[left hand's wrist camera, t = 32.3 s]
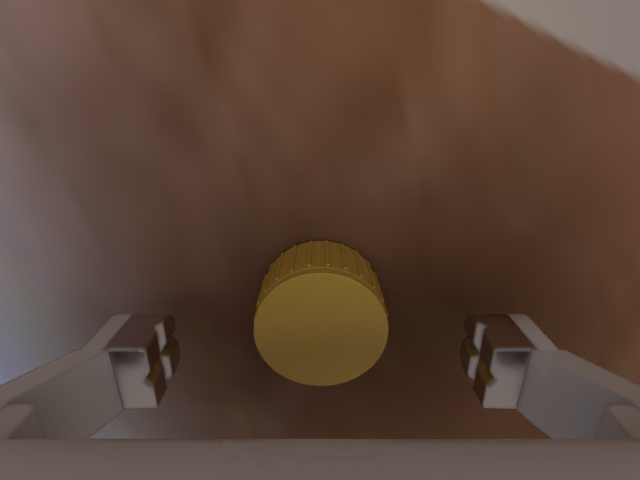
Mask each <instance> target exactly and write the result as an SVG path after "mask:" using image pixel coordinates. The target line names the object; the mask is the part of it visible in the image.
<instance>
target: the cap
mask: <svg viewBox="0 0 640 480" xmlns="http://www.w3.org/2000/svg"><path fill="white" fill-rule="evenodd" d="M256 305H257V308H256V311H255V315H254V326H253V332H254V339H255V343H256V346H257V349H258V351H259V353H260V354H261V356H262V358H263V359H264V360H265V362H266V363H267V364H268V365H269V366H270V367H271V368H272V369H273V370H275V371H276V372H277V373H279V374H280V375H282V376H284V377H285V378H288V379H290V380H292V381H295V382H298V383H301V384H306V385H313V386H329V385H336V384H341V383H344V382H347V381H350V380H352V379H354V378H356V377H358V376H360V375H362V374H363V373H365V372H366V371H367V370H369V369H370V368H371V367H372V366H373V365H374V364H375V363H376V361H377V360H378V359H379V357H380V356H381V354H382V353H383V350H384V348H385V346H386V343H387V339H388V332H389V329H388V319H387V316H388V313H387V309H386V306H385V303H384V298H383V295H382V292H381V288H380V285H379V282H378V278H377V275H376V272H375V271H374V272H373V270H372V268H371V266H370V265H369V261H368V260H365V259H364V258H363V257H362V256H361V255H360V254H359V253H358V251H357V250H353V249H351V248H350V247H348V246H345V245H344V244H343V243H341V244H339V243H336V242H330V241H328V240H325V241H312V240H310V241H309V242H306V243H302V244H299V245H294V247H292V248H291V249H289V250H287V251H286V252H284V253H283V252H282V253H281V255H280V257H278V258H277V260H276V261H275V262H274V263H271V265H270V269H269V271H268V274H267V275H265V276H264V280H263V283H262V286H261V290H260V293H259V297H258V300H257V304H256Z"/></svg>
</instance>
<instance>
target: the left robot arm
mask: <svg viewBox="0 0 640 480" xmlns="http://www.w3.org/2000/svg"><path fill="white" fill-rule="evenodd" d="M175 329H176V326H175V321H174V318H173V317H172V316H171V315H162V314H116V315H113V316H112V317H111V318H110V319H109V320H108V321H107V322H106V323H105V324H104V325H103V327H102V328H101V329H100V330H99V331H98V332H97V333H96V334H95V335H94V336H93V337H92V338H91V340H90V341H89V342H88V343H87V344H86V345H85V346H84V347H83V348H82V349H81V350H74V351H72V352H70V353H67V354H65V355H63V356H61V357H59V358H57V359H55V360H53V361H51V362H49V363H47V364H44V365H42V366H40V367H38V368H36V369H34V370H32V371H30V372H28V373H26V374H23V375H21V376H19V377H17V378H15V379H13V380H11V381H9V382H7V383H5V384H3V385H0V480H640V386H639V385H637V384H635V383H633V382H631V381H629V380H627V379H625V378H623V377H621V376H618V375H616V374H614V373H612V372H610V371H608V370H606V369H604V368H602V367H600V366H598V365H595V364H593V363H591V362H589V361H587V360H585V359H583V358H581V357H579V356H577V355H575V354H572V353H570V352H568V351H566V350H559V349H558V348H557V347H556V346H555V345H554V344H553V343H552V342H551V341H550V340H549V338H548V337H547V336H546V335H545V334H544V333H543V332H542V331H541V330H540V329H539V328H538V327H537V325H536V324H535V323H534V322H533V321H532V320H531V319H530V318H529V317H528V316H527V315H525V314H502V315H468V316H467V318H466V321H465V326H464V329H465V330H466V332H467V334H468V336H467V337H466V338H465V339H464V340H463V341H462V344H461V363H462V366H463V369H464V371H465V374H466V376H467V377H469V378H470V379H472V380H473V381H474V386H473V389H474V391H475V393H476V395H477V397H478V399H479V401H480V403H481V405H482V407H483V408H504V409H517V411H518V412H519V413H520V414H522V415H523V416H524V417H525V418H527V419H528V420H529V421H530V422H531V423H533V424H534V425H535V426H536V427H538V428H539V429H540V430H541V431H542V432H544V433H545V434H546V435H547V436H549V437H550V438H551V439H89V438H90V437H92V436H93V435H94V434H95V433H96V432H98V431H99V430H100V429H101V428H103V427H104V426H105V425H106V424H107V423H109V422H110V421H111V420H112V419H114V418H115V417H116V416H117V415H118V414H120V413H121V412H122V411H123V409H135V408H157V407H158V405H159V403H160V401H161V399H162V397H163V395H164V393H165V391H166V389H167V386H166V381H167V380H168V379H170V378H171V377H173V376H174V373H175V371H176V369H177V366H178V361H179V344H178V341H177V340H176V339H175V338H174V337H173V336H172V334H173V332H174V330H175Z"/></svg>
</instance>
